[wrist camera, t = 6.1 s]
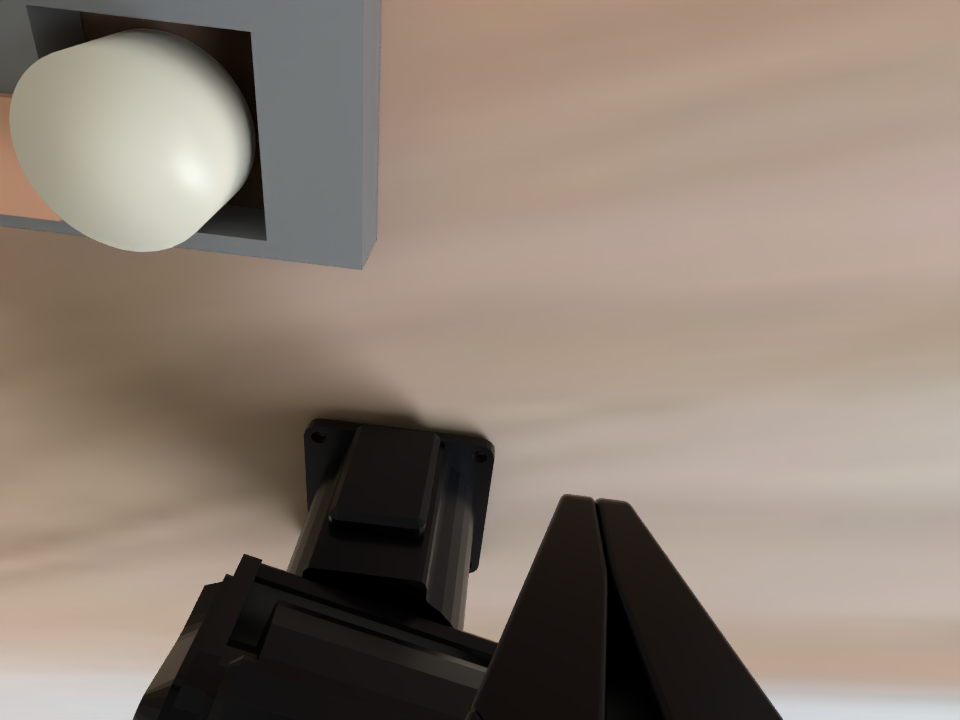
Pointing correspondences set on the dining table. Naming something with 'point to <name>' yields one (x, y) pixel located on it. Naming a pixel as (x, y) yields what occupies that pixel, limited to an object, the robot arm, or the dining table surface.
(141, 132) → the cream button
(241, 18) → the button panel
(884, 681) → the dining table surface
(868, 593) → the dining table surface
